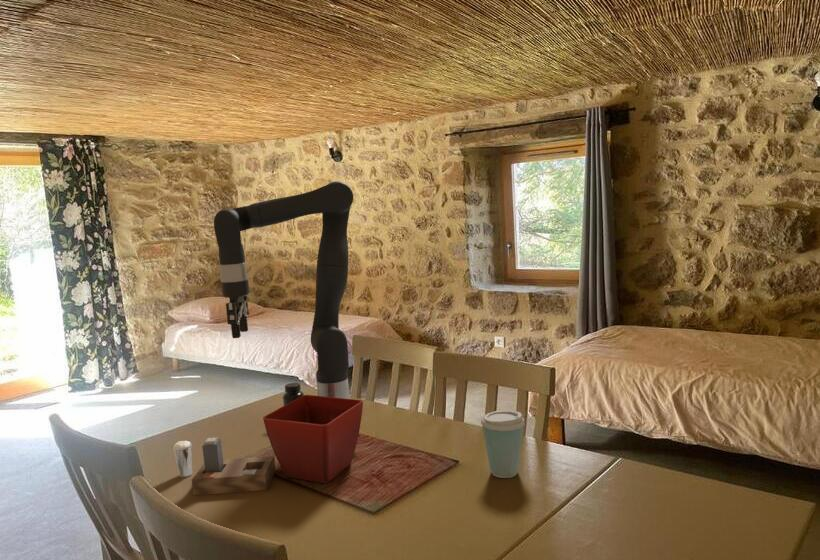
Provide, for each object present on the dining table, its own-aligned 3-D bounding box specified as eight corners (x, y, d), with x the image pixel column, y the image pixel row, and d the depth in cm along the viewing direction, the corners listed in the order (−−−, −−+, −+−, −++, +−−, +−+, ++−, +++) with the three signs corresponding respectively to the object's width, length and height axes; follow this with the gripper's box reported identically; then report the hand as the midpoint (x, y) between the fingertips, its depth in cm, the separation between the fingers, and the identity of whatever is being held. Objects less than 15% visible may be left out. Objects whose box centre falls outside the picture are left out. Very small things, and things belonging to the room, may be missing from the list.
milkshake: (191, 479, 159) (187, 442, 157) (173, 478, 160) (168, 442, 159) (200, 471, 163) (196, 435, 162) (182, 470, 164) (178, 435, 163)
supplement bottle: (286, 418, 200) (282, 382, 199) (307, 415, 201) (303, 380, 199) (284, 425, 193) (280, 389, 192) (305, 423, 194) (302, 386, 193)
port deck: (275, 470, 160) (274, 454, 160) (266, 489, 150) (264, 473, 149) (207, 475, 160) (205, 459, 160) (193, 495, 149) (191, 478, 149)
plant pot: (369, 459, 163) (364, 399, 161) (331, 492, 146) (325, 425, 144) (310, 451, 171) (304, 394, 169) (267, 481, 154) (260, 418, 152)
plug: (225, 479, 157) (220, 436, 155) (221, 486, 153) (216, 441, 152) (211, 480, 157) (206, 437, 155) (207, 487, 153) (201, 442, 152)
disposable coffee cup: (474, 475, 150) (471, 416, 148) (499, 459, 157) (496, 403, 155) (511, 486, 142) (508, 425, 140) (535, 469, 150) (532, 411, 148)
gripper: (241, 281, 167) (247, 339, 169) (253, 275, 181) (259, 328, 183) (213, 283, 167) (220, 341, 169) (228, 277, 181) (234, 330, 183)
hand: (240, 334), depth 176 cm, fingers open, 8 cm apart
